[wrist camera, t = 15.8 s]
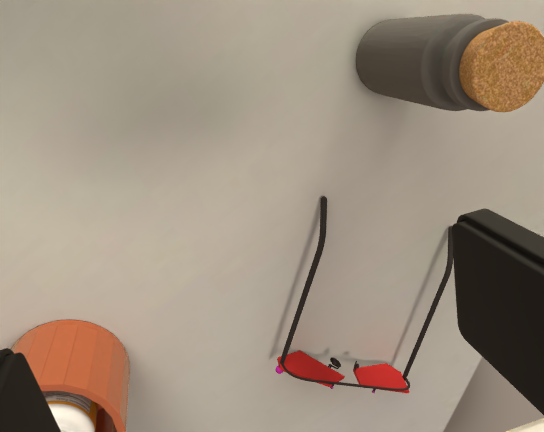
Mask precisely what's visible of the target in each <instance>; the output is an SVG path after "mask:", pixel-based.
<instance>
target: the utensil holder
mask: <svg viewBox="0 0 544 432" xmlns="http://www.w3.org/2000/svg"><path fill="white" fill-rule="evenodd" d="M11 350H12V351H13V352H14V354H15V353H19V352H20V353H22V354H23V355H24V356H25V358H26V360H27V362H28V364H29V366H30V368H31V370H32V372H33V374H34V376H35V378H36V380H37V382H38V385H39V387H40V389H41V391H65V392H69V393H74V394H78V395H83V396H85V397H87V398H88V399H90V400H92V401H94V402H96V403H98V404H99V406H98V414H97V421H96V429H95V432H126V420H127V405H128V389H129V373H130V364H129V358H128V355H127V352H126V350H125V348H124V347H123V345H122V344H121V342H120V341H119V340H118V339H117V338H116V337H115V336H114V335H113V334H112V333H110V332H109V331H108V330H106V329H104V328H102V327H100V326H98V325H95V324H93V323H89V322H85V321H79V320H60V321H54V322H50V323H46V324H43V325H41V326H38V327H36V328H34V329H32V330H30V331H29V332H27V333H26V334H25V335H23V336H22V337H21V338H20V339H19V340H18V341H17V342H16V343H15V344H14V346H13V347H12V348H11Z"/></svg>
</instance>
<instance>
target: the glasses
mask: <svg viewBox="0 0 544 432" xmlns="http://www.w3.org/2000/svg"><path fill="white" fill-rule="evenodd" d="M326 218H327V198H326V197H322V198H321V212H320V236H319V242H318V247H317V251H316V254H315V257H314V260H313V263H312V266H311V269H310V272H309V275H308V278H307V281H306V284H305V287H304V290H303V293H302V296H301V299H300V302H299V305H298V308H297V311H296V314H295V317H294V320H293V323H292V326H291V329H290V332H289V335H288V338H287V341H286V344H285V348H284V351H283V354H282V356H281V357H278V359H277V360H278V364H279V366H277V367H276V372H277V373H278V374H281V373H282V372H283V371H284V372H287V373H288V374H290V375H291V376H293V377H295V378H298V379H301V380H305V381H311V382H316V383H319V384H322V385H325V386H328V387H330V388H331V389H333V386H334V384H337V385H346V386H355V387H364V388H373V391H372V392H373V393H375V390H376V389H380V390H388V391H395V392H402V393H409V388H410V383H409V381H408V379H407V378H406V377H407V376H408V373H409V371H410V368H411V366H412V364H413V361H414V359H415V357H416V354H417V352H418V350H419V347H420V345H421V342H422V340H423V338H424V335H425V333H426V331H427V328H428V326H429V324H430V321H431V319H432V316H433V314H434V312H435V309H436V307H437V305H438V302H439V300H440V297H441V295H442V293H443V290H444V288H445V286H446V283H447V281H448V279H449V276H450V273H451V269H452V264H453V243H452V226H451V227H449V231H448V259H447V266H446V271H445V274H444V277H443V279H442V282H441V284H440V287H439V289H438V291H437V294H436V296H435V299H434V301H433V303H432V306H431V308H430V311H429V313H428V316H427V318H426V320H425V323H424V325H423V328H422V330H421V333H420V335H419V337H418V340H417V342H416V345H415V347H414V349H413V352H412V354H411V357H410V359H409V362H408V364H407V366H406V369H405V371H404V374H403V376H402V374H401V372H399V371H398V370H396V369H395V368H393V367H391V366H390V365H388V364H387V363H385V364H379V365H372V366H366V367H359V364H356V363H357V361H356V362H355V365H354V369H353V371H354V374H355V376H356V378H357V380H358V383H359V384H350V383H341V382H339V381H341V380H342V379H344V377H345V376H343V375H341V374H340V373H338V372H336V371H334V370H333V369H331V367H334V366H332V365H331V364H329V366H330V368H329V366H328V367H327V366H326V365H324V364H322V363H321V362H319V361H317V360H315V359H314V358H312V357H310V356H308V355H307V354H305V353H303V352H302V351H297V352H294V353H290V354H287V353H288V350H289V347H290V344H291V342H292V339H293V336H294V333H295V330H296V327H297V324H298V321H299V318H300V315H301V313H302V310H303V307H304V304H305V301H306V298H307V295H308V292H309V289H310V286H311V284H312V281H313V278H314V275H315V272H316V269H317V266H318V263H319V260H320V257H321V255H322V251H323V248H324V243H325V237H326ZM330 360H331V362H332V364H333V365H335V366H336V367H338V368H339V367H341V364H340V362H339V361H338V360H337V359H335V358H331V359H330ZM336 367H334V368H336ZM338 368H336V369H338ZM405 380H406V382H407V384H408V386H407V385H406V383H405Z"/></svg>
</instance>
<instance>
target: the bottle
mask: <svg viewBox="0 0 544 432" xmlns="http://www.w3.org/2000/svg"><path fill="white" fill-rule="evenodd" d="M356 65H357V70H358V74H359V76H360V78H361V80H362V82H363V83H364V84H365V85H366V86H367V87H368V88H369V89H370V90H372V91H374V92H376V93H379V94H382V95H386V96H390V97H394V98H398V99H402V100H406V101H410V102H414V103H418V104H423V105H427V106H431V107H435V108H439V109H444V110H449V111H460V110H466V109H470V110H475V111H487V110H492V111H496V112H508V111H512V110H515V109H518V108H520V107H521V106H523V105H525V104H526V103H527V102H528V101H529V100H531V99H532V98H533V97H534V95H535V94H536V93H537V92H538V90H539V89H540V87H541V85H542V84H543V82H544V37H543V36H542V34H541V33H540V31H539V30H538V29H537V28H535V27H534V26H532V25H531V24H528V23H526V22H520V21H515V22H508V21H506V20H503V19H485V18H483V17H481V16H478V15H473V14H454V15H440V16H427V17H415V18H403V19H393V20H387V21H383V22H380V23H378V24H377V25H375V26H373V27H372V28H371V29H370V30H369V31H368V32H367V33H366V34H365V35H364V37H363V38H362V40H361V42H360V44H359V47H358V50H357V56H356Z"/></svg>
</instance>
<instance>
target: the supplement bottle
mask: <svg viewBox="0 0 544 432" xmlns="http://www.w3.org/2000/svg"><path fill="white" fill-rule="evenodd" d="M42 393H43V395H44V397H45V399H46V401H47V403H48V405H49V407H50V410H51V412H52V414H53V416H54V418H55V420H56V422H57V424H58V426H59V428H60V430H61V432H95V429H96V421H97V414H98V406H99V404H98V403H96V402H94V401H92V400H90V399H88V398H87V397H85V396H83V395H78V394H74V393H69V392H65V391H42Z"/></svg>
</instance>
